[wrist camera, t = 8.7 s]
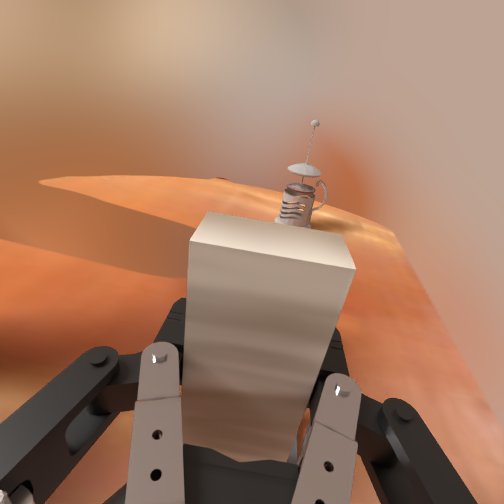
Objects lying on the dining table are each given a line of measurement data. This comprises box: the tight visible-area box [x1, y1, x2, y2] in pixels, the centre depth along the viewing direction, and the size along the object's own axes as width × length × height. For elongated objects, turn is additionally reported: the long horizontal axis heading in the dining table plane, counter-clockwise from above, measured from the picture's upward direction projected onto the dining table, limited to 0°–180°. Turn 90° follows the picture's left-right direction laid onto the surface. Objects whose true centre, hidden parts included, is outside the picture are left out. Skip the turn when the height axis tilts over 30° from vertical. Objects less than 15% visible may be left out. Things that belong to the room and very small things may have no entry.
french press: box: [274, 120, 328, 229], centre depth 73 cm, size 10×12×25 cm
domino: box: [181, 211, 356, 462], centre depth 13 cm, size 2×5×12 cm, turn 84°
